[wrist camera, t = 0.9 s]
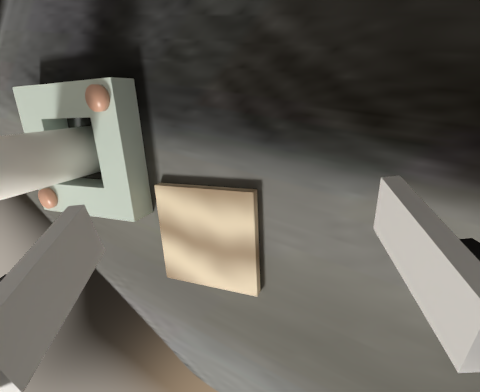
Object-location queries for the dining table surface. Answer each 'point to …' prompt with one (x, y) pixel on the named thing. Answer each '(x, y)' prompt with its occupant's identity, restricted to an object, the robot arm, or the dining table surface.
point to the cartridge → (45, 159)
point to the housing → (107, 144)
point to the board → (210, 235)
